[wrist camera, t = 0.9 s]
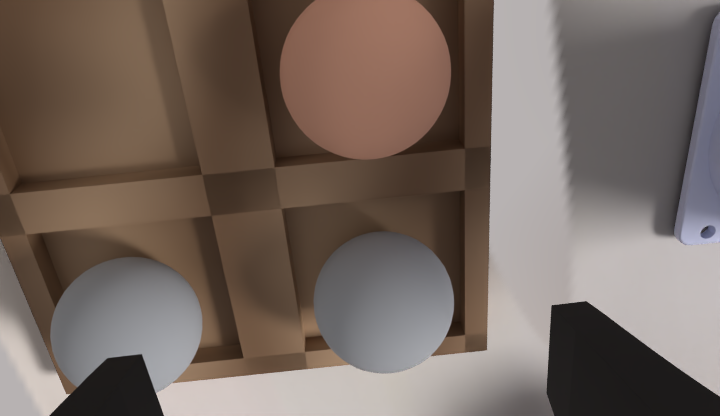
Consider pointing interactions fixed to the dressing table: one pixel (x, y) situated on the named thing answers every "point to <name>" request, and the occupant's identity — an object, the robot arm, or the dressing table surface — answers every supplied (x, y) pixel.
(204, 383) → the dressing table surface
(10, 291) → the dressing table surface
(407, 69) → the terracotta ball
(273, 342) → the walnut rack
